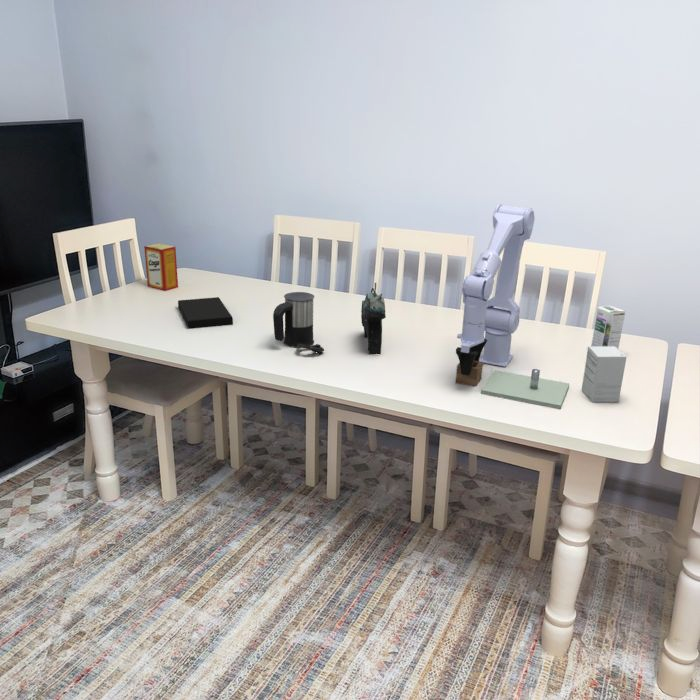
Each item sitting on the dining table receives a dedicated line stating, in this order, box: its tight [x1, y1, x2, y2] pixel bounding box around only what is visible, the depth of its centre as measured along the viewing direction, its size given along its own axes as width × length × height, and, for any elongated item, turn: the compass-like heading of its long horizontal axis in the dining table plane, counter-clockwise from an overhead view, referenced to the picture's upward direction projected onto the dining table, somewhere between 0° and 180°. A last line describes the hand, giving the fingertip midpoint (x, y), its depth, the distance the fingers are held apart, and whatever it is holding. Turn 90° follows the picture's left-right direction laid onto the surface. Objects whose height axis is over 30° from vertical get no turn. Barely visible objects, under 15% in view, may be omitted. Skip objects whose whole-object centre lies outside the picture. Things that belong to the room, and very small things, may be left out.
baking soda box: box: [144, 242, 179, 292], centre depth 258 cm, size 10×6×16 cm
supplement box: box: [581, 345, 627, 403], centre depth 175 cm, size 7×7×13 cm
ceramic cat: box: [360, 282, 387, 355], centre depth 205 cm, size 20×6×20 cm, turn 4°
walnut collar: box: [455, 360, 484, 387], centre depth 184 cm, size 6×6×5 cm
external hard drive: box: [177, 296, 234, 330], centre depth 230 cm, size 14×23×3 cm, turn 21°
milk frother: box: [272, 291, 325, 354], centre depth 203 cm, size 14×16×15 cm
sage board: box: [480, 369, 570, 410], centre depth 180 cm, size 15×20×1 cm
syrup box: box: [591, 305, 626, 350], centre depth 203 cm, size 6×6×14 cm
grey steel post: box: [530, 368, 541, 390], centre depth 178 cm, size 2×2×5 cm
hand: (469, 369), depth 184 cm, fingers open, 7 cm apart
